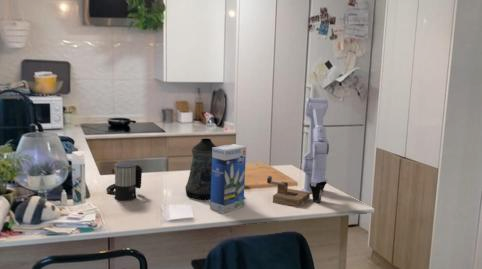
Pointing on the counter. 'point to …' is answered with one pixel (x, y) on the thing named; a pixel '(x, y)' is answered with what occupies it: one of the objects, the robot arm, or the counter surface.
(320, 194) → the shiny metal cylinder
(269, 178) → the lock pin
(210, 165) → the beer stein
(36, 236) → the counter surface
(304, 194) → the mount
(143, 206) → the counter surface
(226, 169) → the string lights box
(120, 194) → the milk frother
